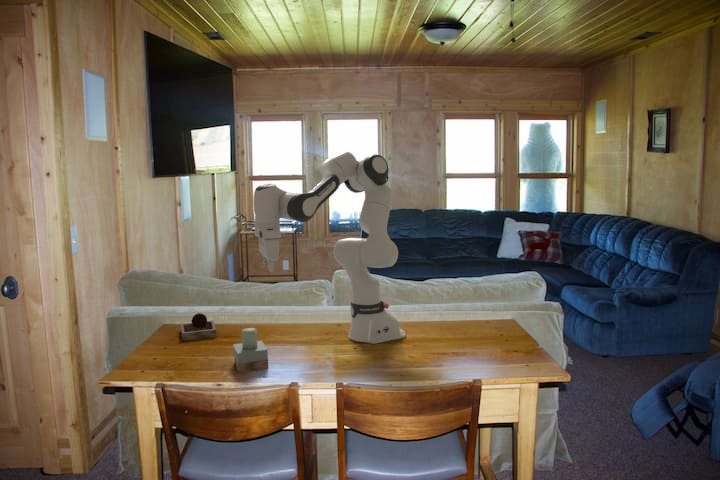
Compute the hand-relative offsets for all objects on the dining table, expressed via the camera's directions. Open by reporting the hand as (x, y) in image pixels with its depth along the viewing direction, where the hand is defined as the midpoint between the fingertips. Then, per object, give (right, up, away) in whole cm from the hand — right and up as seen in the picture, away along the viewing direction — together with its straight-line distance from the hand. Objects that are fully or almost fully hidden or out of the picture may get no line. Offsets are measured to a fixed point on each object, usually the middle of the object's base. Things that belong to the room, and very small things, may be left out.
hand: (268, 268), depth 205 cm
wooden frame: (-33, -28, +27) cm, 51 cm away
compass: (-32, -28, +29) cm, 51 cm away
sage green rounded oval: (-5, -26, -9) cm, 28 cm away
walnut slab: (-5, -33, -7) cm, 34 cm away
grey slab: (-5, -30, -8) cm, 31 cm away
